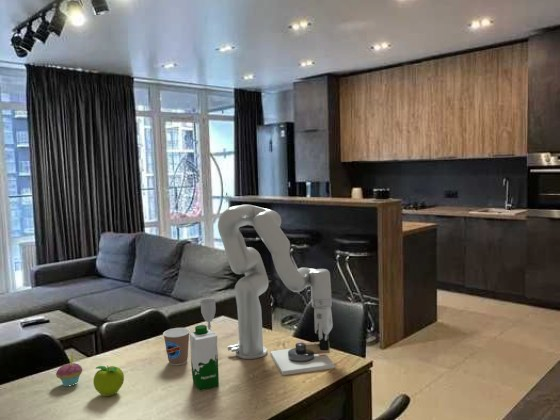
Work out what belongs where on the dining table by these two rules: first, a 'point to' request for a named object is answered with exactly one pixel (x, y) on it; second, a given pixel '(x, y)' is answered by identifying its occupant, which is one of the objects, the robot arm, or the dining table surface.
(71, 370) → the cupcake
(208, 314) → the chalice
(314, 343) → the cam dial
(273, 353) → the base plate
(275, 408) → the dining table surface
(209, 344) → the milk carton
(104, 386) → the fruit
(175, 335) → the coffee cup
